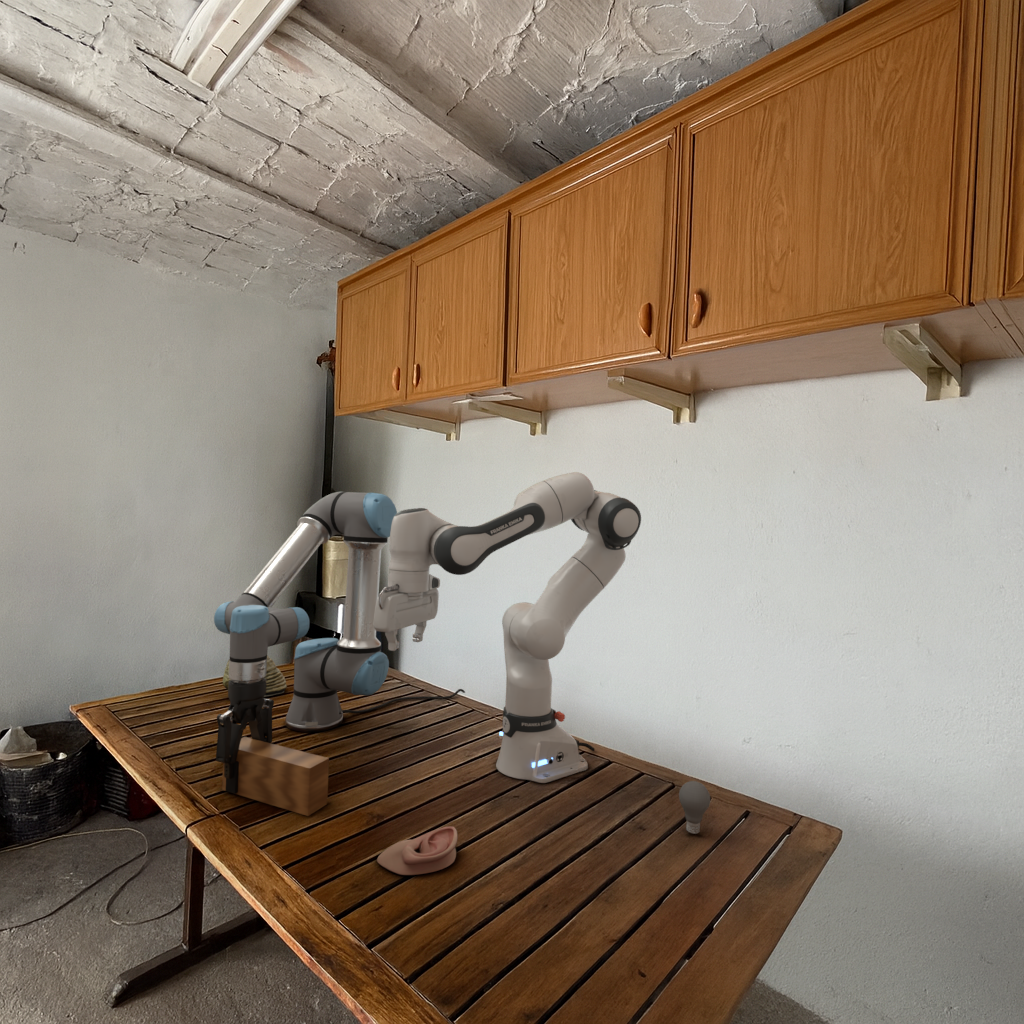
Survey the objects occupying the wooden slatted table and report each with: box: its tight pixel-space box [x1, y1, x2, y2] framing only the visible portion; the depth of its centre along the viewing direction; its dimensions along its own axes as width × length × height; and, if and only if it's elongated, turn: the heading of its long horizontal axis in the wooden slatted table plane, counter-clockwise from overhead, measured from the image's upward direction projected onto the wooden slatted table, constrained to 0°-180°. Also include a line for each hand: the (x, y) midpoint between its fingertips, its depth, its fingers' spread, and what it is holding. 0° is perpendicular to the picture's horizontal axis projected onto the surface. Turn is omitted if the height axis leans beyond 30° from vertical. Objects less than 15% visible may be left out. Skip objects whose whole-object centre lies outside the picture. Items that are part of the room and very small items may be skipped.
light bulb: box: [678, 780, 711, 835], centre depth 125 cm, size 6×6×10 cm
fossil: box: [222, 654, 288, 698], centre depth 198 cm, size 9×18×15 cm, turn 132°
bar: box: [221, 736, 330, 817], centre depth 133 cm, size 23×6×10 cm, turn 66°
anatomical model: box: [376, 826, 459, 876], centre depth 112 cm, size 13×4×12 cm
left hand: (243, 785), depth 136 cm, fingers closed on bar, 6 cm apart
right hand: (405, 645), depth 138 cm, fingers open, 8 cm apart
